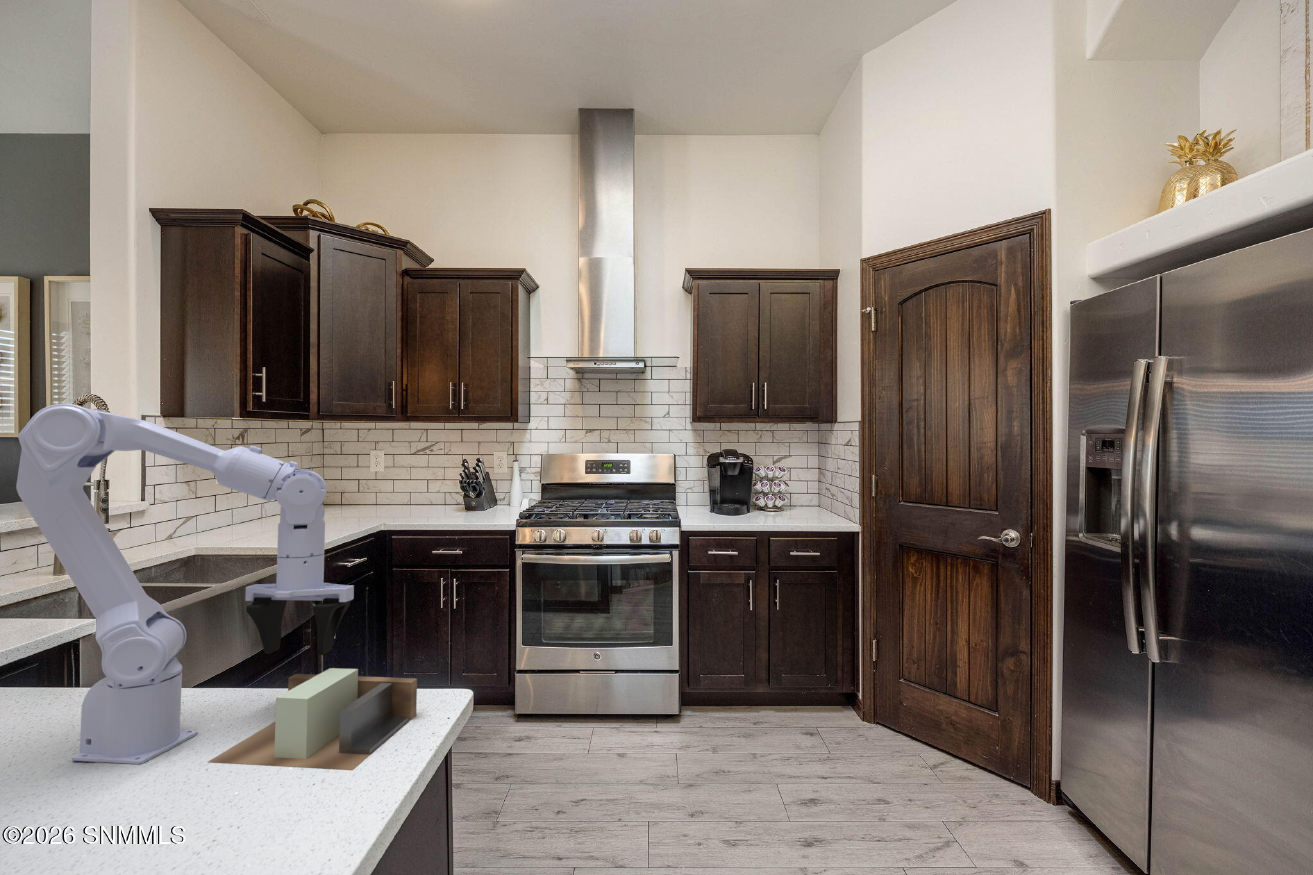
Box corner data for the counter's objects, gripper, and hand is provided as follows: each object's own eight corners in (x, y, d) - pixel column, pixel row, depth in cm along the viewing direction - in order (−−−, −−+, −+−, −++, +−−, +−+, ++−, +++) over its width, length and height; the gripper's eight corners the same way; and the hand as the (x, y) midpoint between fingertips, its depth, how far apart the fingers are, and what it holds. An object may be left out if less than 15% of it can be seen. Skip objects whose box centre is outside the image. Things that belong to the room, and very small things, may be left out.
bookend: (339, 752, 70) (339, 710, 71) (380, 720, 79) (381, 682, 80) (369, 754, 70) (370, 712, 70) (408, 721, 79) (408, 683, 79)
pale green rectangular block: (329, 720, 79) (330, 668, 80) (356, 721, 79) (358, 669, 79) (274, 757, 69) (276, 697, 70) (305, 758, 69) (307, 698, 69)
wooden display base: (207, 770, 68) (208, 718, 68) (294, 716, 83) (296, 673, 83) (352, 778, 67) (353, 725, 67) (416, 722, 81) (417, 678, 81)
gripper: (229, 559, 79) (226, 660, 78) (333, 560, 78) (331, 662, 78) (267, 551, 86) (264, 644, 85) (362, 552, 85) (360, 646, 85)
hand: (298, 652), depth 82 cm, fingers open, 7 cm apart
